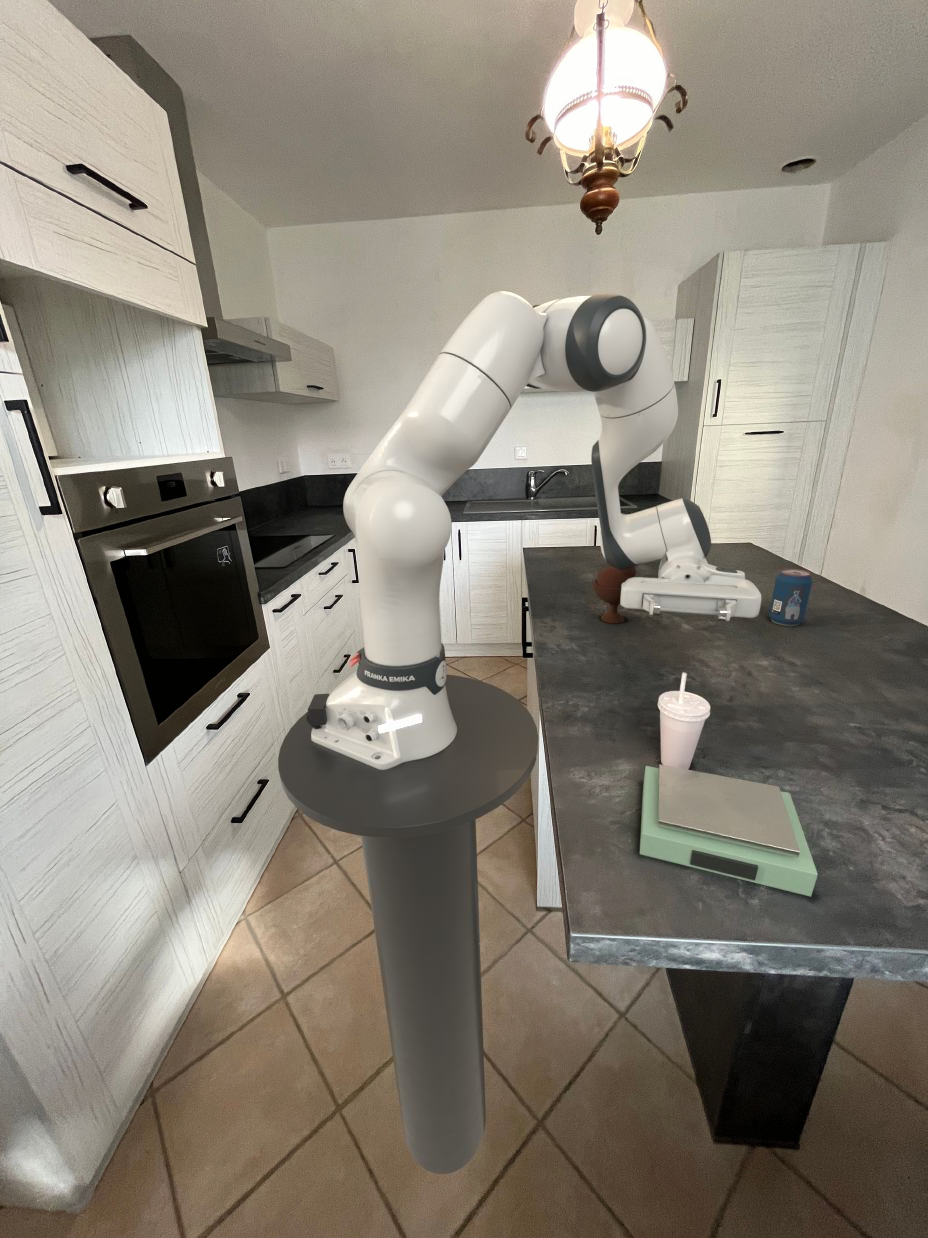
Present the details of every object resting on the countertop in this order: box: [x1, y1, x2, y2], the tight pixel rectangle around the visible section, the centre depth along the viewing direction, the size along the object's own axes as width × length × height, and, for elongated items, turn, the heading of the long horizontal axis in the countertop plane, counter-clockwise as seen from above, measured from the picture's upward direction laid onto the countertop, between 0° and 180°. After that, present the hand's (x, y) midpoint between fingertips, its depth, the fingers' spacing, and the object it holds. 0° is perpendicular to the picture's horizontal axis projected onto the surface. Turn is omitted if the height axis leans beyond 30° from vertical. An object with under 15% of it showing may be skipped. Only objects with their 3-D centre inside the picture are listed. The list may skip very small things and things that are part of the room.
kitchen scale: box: [639, 765, 819, 898], centre depth 55 cm, size 16×12×3 cm
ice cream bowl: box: [591, 565, 637, 624], centre depth 116 cm, size 11×11×15 cm
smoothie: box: [657, 671, 711, 770], centre depth 65 cm, size 6×6×14 cm
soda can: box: [768, 568, 813, 627], centre depth 112 cm, size 7×7×12 cm
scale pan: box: [658, 763, 800, 858], centre depth 54 cm, size 13×10×1 cm
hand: (688, 613), depth 72 cm, fingers open, 8 cm apart
